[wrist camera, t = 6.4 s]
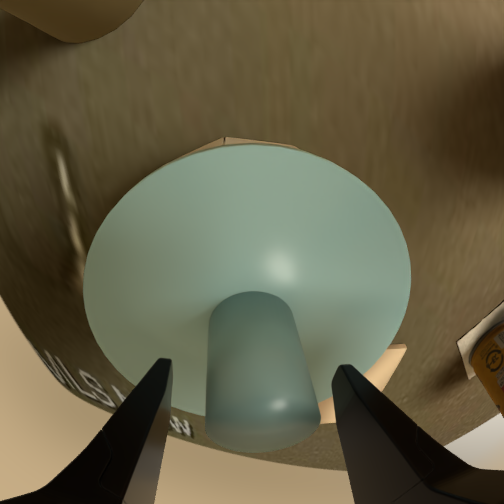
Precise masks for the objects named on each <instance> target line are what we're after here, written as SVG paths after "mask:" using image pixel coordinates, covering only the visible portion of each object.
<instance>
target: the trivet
mask: <svg viewBox="0 0 504 504" xmlns="http://www.w3.org/2000/svg"><path fill="white" fill-rule="evenodd" d="M406 349H407V347H406V346H405V344H390V345H389V346H388V348H387V349H386V350H385V352H384V353H383V355H382V356H381V357H380V358H379V359H378V360H377V362H376V363H375V364H374V365H373V366H372V367H371V368H370V369H369V370H368V371H367V372H366V373H364V374H363V376H365V377H366V378H367V379H368V380H369V381H370V382H371V383H372V384H373V385H374V386H375V387H377V388H378V389H379V390H380V391H381V392H382V390H383V389H384V387H385V386H386V384H387V382H388V381H389V379H390V377H391V376H392V374H393V372H394V370H395V369H396V367H397V365H398V364H399V362H400V360H401V358H402V356H403V355H404V353H405V351H406ZM318 406H319V410H320V414H321V422H320V424H322V423H334V422H336V419H335V411H334V403H333V396H332V397H330V398H328V399H326V400H324V401H322V402H320V403H318Z"/></svg>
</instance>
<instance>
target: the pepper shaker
mask: <svg viewBox="0 0 504 504" xmlns="http://www.w3.org/2000/svg"><path fill="white" fill-rule="evenodd" d="M143 1H144V0H0V9H2V10H4V11H6V12H8V13H10V14H12V15H14V16H16V17H18V18H20V19H22V20H23V21H25V22H27V23H29V24H31V25H33V26H34V27H36V28H38V29H40V30H42V31H44V32H45V33H47V34H49V35H51V36H52V37H55V38H57V39H59V40H61V41H63V42H70V43H83V42H86V41H90V40H95V39H98V38H100V37H102V36H104V35H106V34H108V33H110V32H111V31H113V30H115V29H117V28H118V27H119V26H120V25H121V24H122V23H124V22H125V21H126V20H127V19H129V18H130V17H131V16H132V15H133V13H134V12H135V11H136V9H137V8H138V7H139V6H140V4H141V3H142V2H143Z"/></svg>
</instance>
